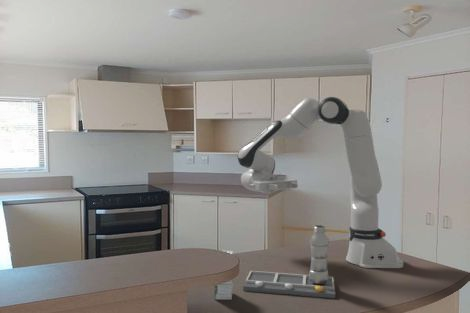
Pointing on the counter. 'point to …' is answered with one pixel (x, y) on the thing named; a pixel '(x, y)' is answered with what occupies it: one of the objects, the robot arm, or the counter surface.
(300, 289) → the board
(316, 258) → the plastic bottle
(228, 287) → the syrup box
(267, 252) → the counter surface
